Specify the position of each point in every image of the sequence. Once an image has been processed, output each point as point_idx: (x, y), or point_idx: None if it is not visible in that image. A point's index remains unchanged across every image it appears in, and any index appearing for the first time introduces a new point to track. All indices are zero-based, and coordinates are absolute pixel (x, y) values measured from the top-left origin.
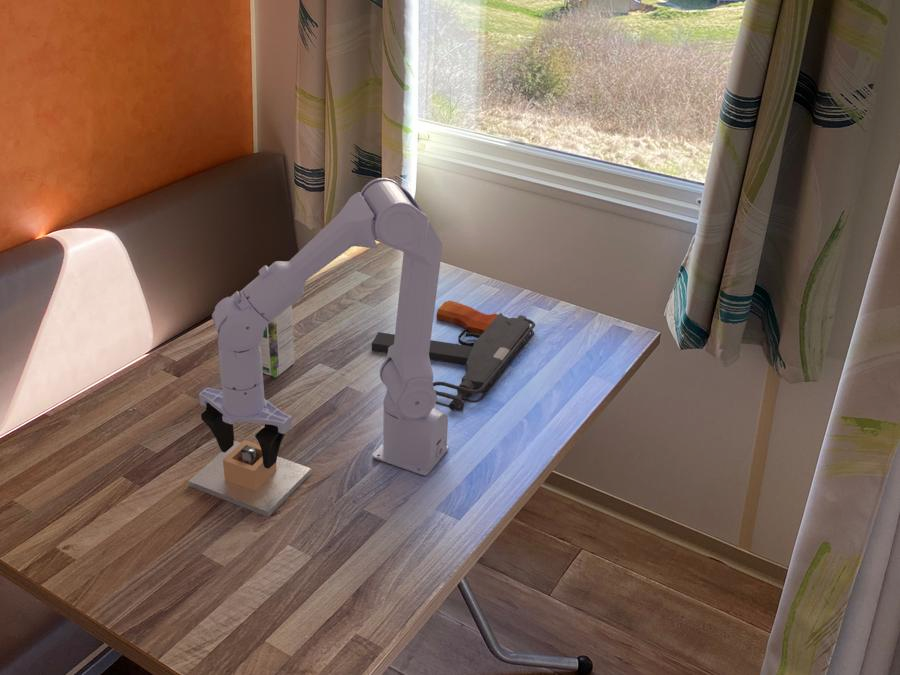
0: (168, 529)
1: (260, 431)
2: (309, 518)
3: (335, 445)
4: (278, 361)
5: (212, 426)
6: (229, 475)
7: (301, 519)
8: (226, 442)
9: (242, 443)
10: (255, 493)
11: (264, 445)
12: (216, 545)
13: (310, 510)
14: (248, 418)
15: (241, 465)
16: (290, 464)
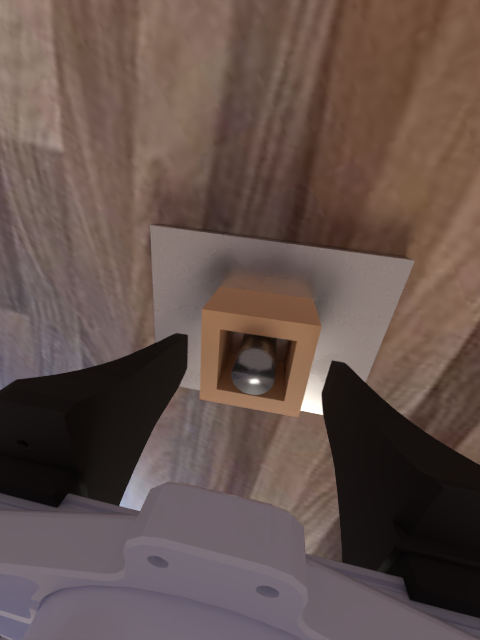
0: (400, 32)
1: (64, 445)
2: (85, 256)
3: (170, 442)
4: None
5: (411, 441)
6: (297, 303)
7: (96, 246)
8: (335, 391)
9: (297, 404)
10: (214, 276)
11: (94, 376)
12: (214, 42)
13: (99, 279)
14: (41, 568)
15: (251, 321)
16: (198, 382)
